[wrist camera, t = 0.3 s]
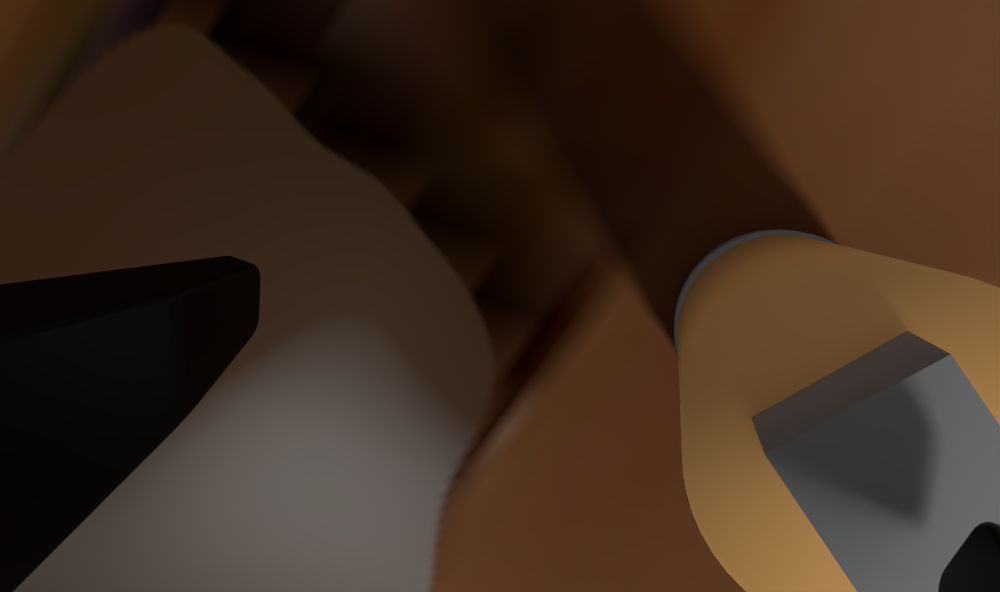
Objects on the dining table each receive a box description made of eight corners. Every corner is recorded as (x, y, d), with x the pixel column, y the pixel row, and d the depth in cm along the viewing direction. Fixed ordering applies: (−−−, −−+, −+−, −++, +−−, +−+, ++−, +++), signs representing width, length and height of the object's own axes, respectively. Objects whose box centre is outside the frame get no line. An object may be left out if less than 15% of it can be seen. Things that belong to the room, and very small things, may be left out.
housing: (738, 442, 23) (839, 804, 9) (638, 293, 23) (587, 427, 9) (908, 349, 22) (1336, 612, 8) (800, 190, 22) (1027, 167, 8)
